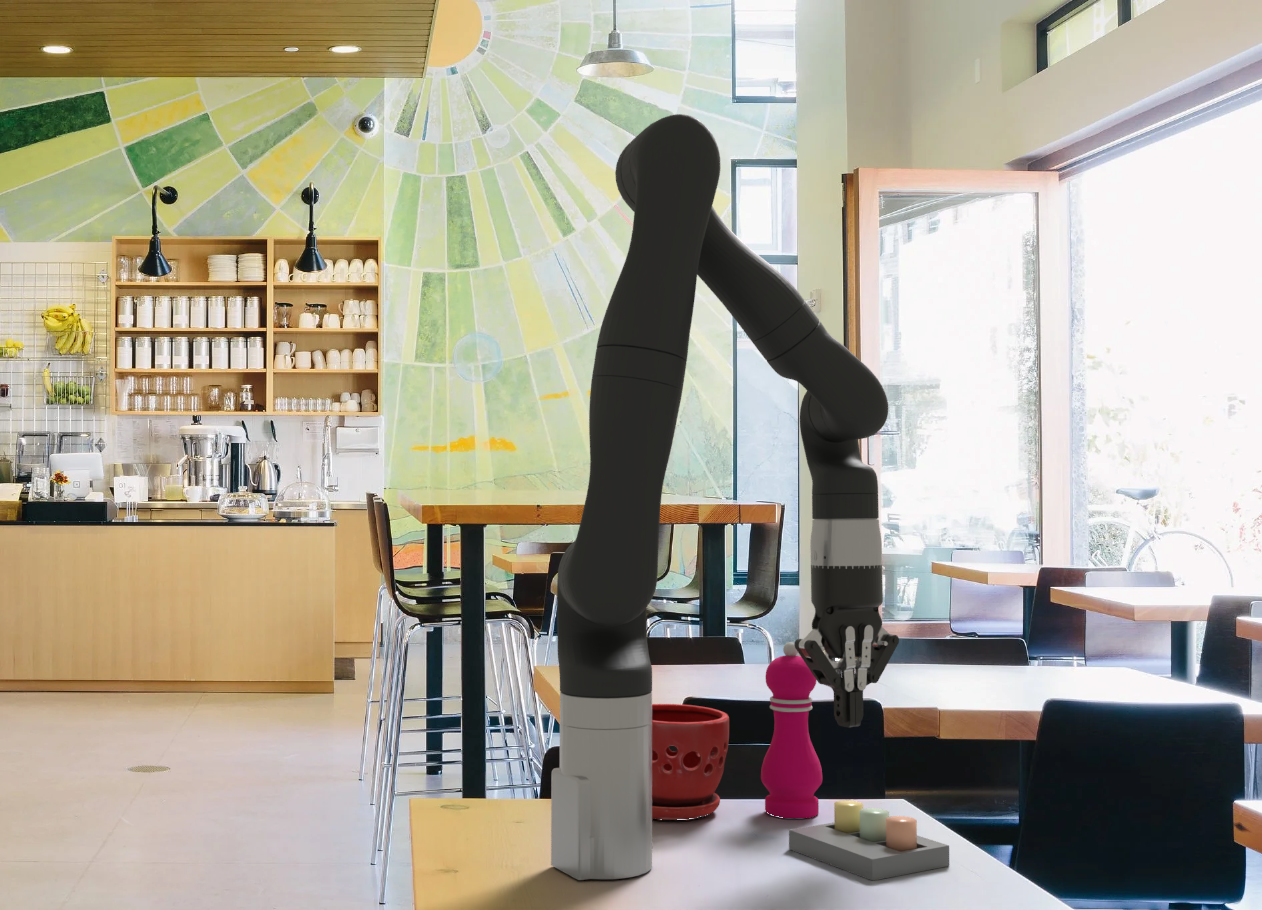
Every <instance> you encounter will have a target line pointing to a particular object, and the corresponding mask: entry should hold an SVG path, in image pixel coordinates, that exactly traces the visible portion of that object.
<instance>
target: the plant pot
mask: <svg viewBox="0 0 1262 910" xmlns="http://www.w3.org/2000/svg"><path fill="white" fill-rule="evenodd" d="M729 739H730V717H729V714H728V713H727V712H724V711H721V710H719V709H715V708H712V707H707V706H706V707H705V706H699V705H692V704H682V703H681V704H679V703H677V704H676V703H652V820H653V819H662V820H677V819H689V818H697V817H700V816H705V815H707V814H709V815H711V814H713V813H714V812H715V811H716V810H717V809H718V808H719V806H720V803H721V797H720V796H719V795H718V793H715V792H716V790H717V788H718V786H719V784H720V783H721V780H722V777H723V774H724V770H725V763H726V758H727V753H728V750H729V749H728V748H729V742H730V741H729ZM670 747H675V748H676V750H675V751H674V750H673V751H672V749H670ZM712 812H713V813H712ZM710 813H711V814H710ZM707 816H708V815H707ZM705 817H706V816H705ZM662 820H661V821H662Z"/></svg>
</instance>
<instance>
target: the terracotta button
mask: <svg viewBox="0 0 1262 910" xmlns="http://www.w3.org/2000/svg"><path fill="white" fill-rule="evenodd" d="M917 823H918V822H917V819H916V818H914V817H911V816H905V815H893V816H889V817H887V818H886V847H888V848H891V849H894V850H897V851H900V852H902V851H907V850H913V849H917V836H918V834H917V833H918V829H917V826H918V825H917Z"/></svg>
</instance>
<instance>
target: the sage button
mask: <svg viewBox="0 0 1262 910" xmlns="http://www.w3.org/2000/svg"><path fill="white" fill-rule="evenodd" d="M859 817H860V838H861V839H864V840H867V841H870V842H878V841H884V840H886V818H887V817H890V811H889V810H888V809H884V808H878V807H877V808H876V807H863V809H861V810H859Z"/></svg>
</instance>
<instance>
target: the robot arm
mask: <svg viewBox="0 0 1262 910" xmlns="http://www.w3.org/2000/svg"><path fill="white" fill-rule="evenodd" d="M614 173H615V174H614V175H615V181H616V182H615V183H616V186H617V190H618V192H619V194H620V196H621V199H623V201H624V202H625V204H626V205H627V206H628V207H629V208H630V209H631V210H632V212H633V223H632V231H631V238H630V243H629V247H628V251H627V253H626V258H625V261H624V263H623V266H622V269H621V272H620V274H619V277H618V278H617V282H616V284H615V286H614V288H613V291H612V294H611V296H610V299H609V302H608V305H607V307H606V310H605V314H604V316H603V319H602V323H601V326H600V329H599V333H598V334H599V335H598V339H597V343H596V350H595V356H594V362H593V368H592V373H591V376H592V377H591V383H590V394H589V413H588V417H589V419H588V421H589V422H588V427H589V428H588V429H589V430H588V431H589V432H588V433H589V434H588V435H589V460H590V461H589V465H590V466H589V476H588V477H589V478H588V486H587V491H586V495H585V502H584V506H583V510H582V514H581V519H580V523H579V527H578V530H577V534H576V538H575V540H574V541H573V542H572V543H571V544H570V545H569V546H568V547H567V548H566V550H565V551H564V553H563V555H562V557H561V559H560V562H559V566H558V570H557V581H556V582H557V586H556V588H557V589H556V601H557V602H556V605H557V606H556V609H557V611H556V612H557V613H556V615H557V617H556V619H557V620H556V621H557V622H556V623H557V624H556V625H557V629H556V630H557V661H558V669H559V691H560V692H559V767H555V768H553V769H552V770H551V775H550V776H551V786H550V787H551V789H550V790H551V791H550V792H551V796H550V797H551V798H550V801H551V806H550V810H551V817H550V818H551V819H550V822H551V823H550V825H551V826H550V827H551V829H550V831H551V832H550V837H551V838H550V839H551V840H550V841H551V842H550V866H552V867H554V868H555V869H556V870H559V871H561V872H563V873H565V874H566V875H568V876H570V877H572V878H573V879H576V880H578V881H584V880H619V879H628V878H633V877H638V876H641V875H644V874H646V873H648V872H649V871H651V869H652V868H653V847H654V846H653V819H652V704H653V667H652V663H651V658H650V654H649V652H650V651H649V647H648V646H649V645H648V634H647V633H648V632H647V631H648V629H647V628H648V626H647V619H648V618H647V608H648V606H649V604H650V603H651V602H652V600H653V596H654V594H655V592H656V588H657V583H658V573H659V571H658V570H659V569H658V568H659V567H658V566H659V542H660V541H659V539H660V522H661V505H662V495H663V488H664V487H663V486H664V481H665V477H666V471H667V468H668V464H669V461H670V455H671V451H672V445H673V442H674V436H675V432H676V427H677V421H678V416H679V411H680V406H681V402H682V401H681V400H682V397H683V396H682V395H683V389H684V382H685V377H686V376H685V375H686V369H687V361H688V354H689V353H688V352H689V344H690V334H691V328H692V320H693V315H694V314H693V313H694V307H695V299H696V289H697V288H696V287H697V278H699V279H700V280H702V282H703V283H704V284H705V285H706V286H707V287H708V289H709V290H710V291H711V292H712V293H713V294H714V295H715V297H716V298H717V299H718V300H719V302H721V303H722V305H723V307H725V309H726V310H727V311H728V312H729V314H730V315H731V316H732V317H733V319H734V320H735V321H736V323H737V324H738V325H739V327H740V328H741V329H742V331H743V332H744V333H745V335H746V336H747V338H749V340H750V341H751V342H752V344H753V345H754V346H755V348H756V349H757V350H758V351H759V353H760V354H761V356H762V357H763V358H764V360H765V361H766V362H767V364H768V365H769V366H770V367H771V369H773V371H774V372H775V373H776V374H777V375H778V376H780V377H782V378H785V379H788V380H793V381H795V382H797V383H799V384H800V385H801V386H802V387H803V389H805V390H806V392H805V393H804V396H803V398H802V401H801V404H800V409H799V431H800V436H801V441H802V444H803V449H804V454H805V459H806V463H807V466H808V470H809V473H810V474H809V475H810V476H811V477H810V478H811V481H812V482H811V483H812V485H811V486H812V487H811V516H812V517H811V518H812V521H811V522H812V523H811V525H812V526H811V533H810V549H809V550H810V590H811V591H810V599H811V604H812V606H813V607H814V615H813V619H812V622H811V628H812V630H811V631H810V632H809V633H808V634H807V635H806V636H805V637H804V638H797V639H796V640H795V641H794V643H795V644H794V646H795V648H796V650H797V651H798V653H797V654H799V656H800V657H802V659H803V660H804V662H805V663H806V665H807V666H808V668H809V669H810V671H811V672H812V674H813V675H814V677H815V678H816V682H818V684H820V685H823V686H826V687H829V688H831V689H832V692H833V718H834V719H835V721H836V722H837V723H836V724H837V725H838V726H839V727H844V728H853V727H859V726H861V725H862V724H861V723H862V721H863V719H864V718H863V717H864V690H865V689H866V687H867V686H869V685H870V684H876V683H878V682H879V680H880V678H881V676H882V675H883V672H884V670H885V669H886V667H887V665H888V663H889V662H890V660H891V658H892V656H893V654H894V652H895V651H896V650H897V649H896V648H897V647H898V645H899V642H900V639H899V636H898V635H896V634H891V633H889V632H888V631H887V630H886V629H885V628H884V627H883V620H882V619H883V618H882V616H881V615H880V611H879V608H880V606H881V605H882V604H883V601H884V597H883V592H884V591H883V548H882V547H883V545H882V544H883V543H882V541H883V540H882V535H881V534H882V533H881V529H880V520H879V518H880V517H879V516H880V515H879V513H880V512H879V481H878V475H877V472H876V471H875V470H874V469H873V467H871V466H870V465H868V464H864V462H863V460H862V456H861V451H860V446H859V445H860V444H859V440H862V439H867V438H869V437H872V436H874V435H875V434H877V433H878V432H880V430H881V429H882V428H883V427H884V425H885V423H886V422H887V419H888V416H889V402H888V398H887V394H886V392H885V389H884V386H883V385H882V383H881V382H880V381H879V379H878V378H877V376H876V375H875V373H873V371H872V370H871V369H870V368H869V367H868V366H867V365H866V364H865V363H864V362H862V361H861V359H860V358H858V357H857V356H856V355H855V354H854V353H852V352H851V351H850V349H848V348H847V347H846V346H845V345H844V344H842V343H841V342H840V341H838V340H837V339H836V338H834V337H833V336H832V335H831V333H829V332H828V331H827V330H826V328H825V326H824V325H823V323H822V322H821V320H820V319H819V318H818V316H817V315H816V314H815V312H814V311H813V309H811V308H810V306H809V304H808V303H807V301H806V300H805V299H804V298H803V296H802V295H801V294H800V292H799V291H798V290H797V289H796V287H795V286H794V285H793V284H792V283H791V282H790V281H789V280H788V279H787V278H786V277H785V276H784V275H783V274H782V272H780V271H779V270H778V269H776V268H775V267H774V266H773V265H772V264H770V263H769V262H768V261H766V260H765V258H763V257H762V256H761V255H759V254H757V252H755V251H754V250H753V249H751V248H750V247H749V245H747V244H746V243H745V242H744V241H742V240H741V239H740V238H739V237H738V236H737V235H736V234H735V233H734V232H733V231H732V230H731V229H730V228H729V227H728V226H727V224H726V223H725V222H724V221H723V219H722V218H721V216H719V214H718V213H717V211H716V210H715V208H714V207H713V204H714V200H715V196H716V192H717V188H718V185H719V180H720V176H721V155H720V150H719V146H718V144H717V141H716V139H715V136H714V135H713V133H712V131H711V130H710V129H709V128H708V126H707V125H706V124H705V123H704V122H702V121H701V120H699V119H698V118H696V117H695V116H691V115H689V114H688V115H687V114H683V113H682V114H681V113H680V114H679V113H677V114H671V115H667V116H665V117H662V118H659V119H657V120H656V121H653V123H650V124H649V125H648V126H646V127H645V129H643V130H642V131H641V132H640V133H639V134H638V135H636V136H635V137H634V138H633V139H632V140H631V141H630V142H629V143H628V144H626V146H625V147H624V149H622V152H621V153H620V155H619V157H618V159H617V161H616V165H615V172H614Z"/></svg>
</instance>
